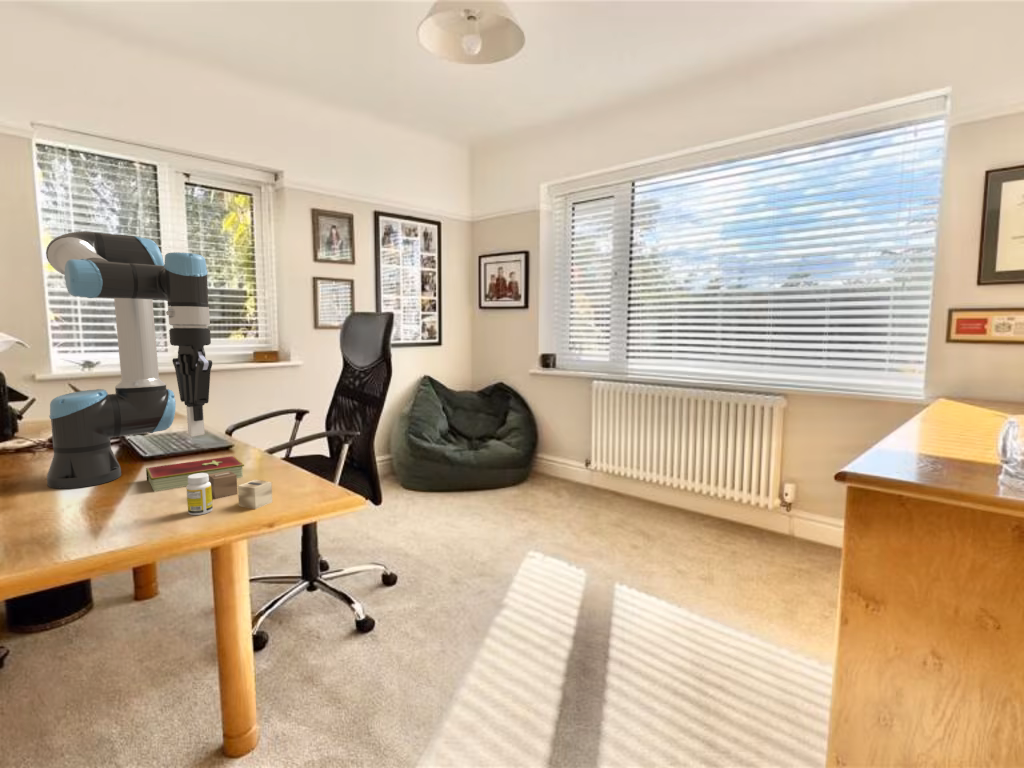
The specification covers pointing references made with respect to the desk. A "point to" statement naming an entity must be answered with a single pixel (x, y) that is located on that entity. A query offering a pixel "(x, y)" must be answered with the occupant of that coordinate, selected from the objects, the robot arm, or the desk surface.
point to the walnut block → (223, 484)
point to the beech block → (255, 494)
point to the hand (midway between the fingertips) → (196, 434)
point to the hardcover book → (190, 471)
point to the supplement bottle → (199, 494)
